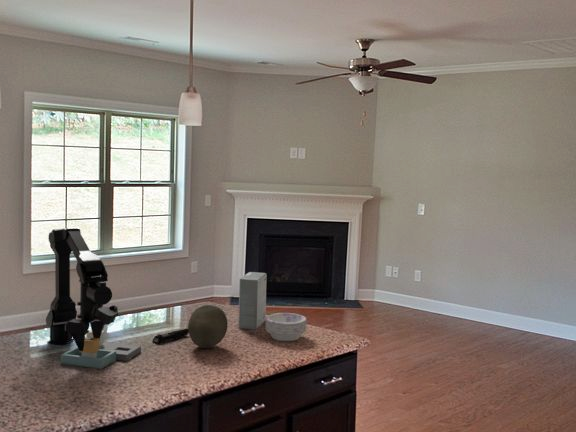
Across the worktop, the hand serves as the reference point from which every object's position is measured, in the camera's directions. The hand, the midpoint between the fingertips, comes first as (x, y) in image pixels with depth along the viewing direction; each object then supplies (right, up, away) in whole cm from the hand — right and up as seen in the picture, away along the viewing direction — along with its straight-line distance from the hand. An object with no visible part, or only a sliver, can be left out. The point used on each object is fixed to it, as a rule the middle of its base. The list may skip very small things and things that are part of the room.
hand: (89, 346), depth 197 cm
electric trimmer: (+20, -4, +29) cm, 35 cm away
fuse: (-1, -4, +11) cm, 12 cm away
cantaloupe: (+35, -5, +20) cm, 40 cm away
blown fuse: (0, -4, +1) cm, 5 cm away
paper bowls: (+62, -5, +36) cm, 72 cm away
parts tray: (0, -5, 0) cm, 5 cm away
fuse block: (+3, -4, +10) cm, 11 cm away
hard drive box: (+48, -2, +54) cm, 72 cm away
